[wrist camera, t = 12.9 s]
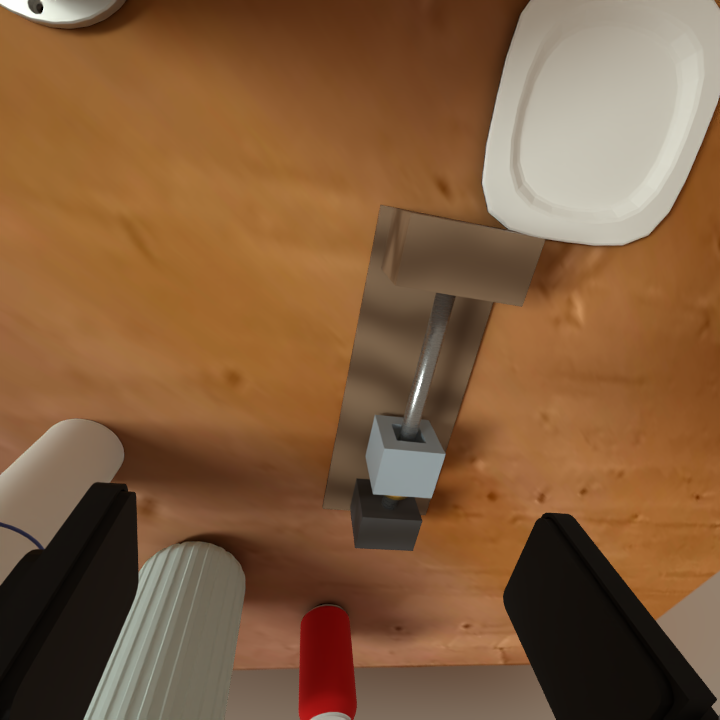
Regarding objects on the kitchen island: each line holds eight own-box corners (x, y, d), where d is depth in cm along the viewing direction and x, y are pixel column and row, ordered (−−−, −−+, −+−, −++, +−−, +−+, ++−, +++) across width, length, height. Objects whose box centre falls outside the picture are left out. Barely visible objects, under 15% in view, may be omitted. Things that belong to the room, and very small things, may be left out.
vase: (198, 511, 44) (102, 795, 23) (269, 567, 48) (239, 846, 28) (122, 564, 45) (-30, 870, 25) (197, 613, 50) (119, 907, 30)
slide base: (380, 204, 33) (396, 210, 27) (513, 231, 35) (558, 241, 29) (322, 506, 45) (324, 559, 39) (424, 512, 47) (442, 563, 41)
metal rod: (425, 273, 34) (436, 282, 31) (461, 279, 34) (475, 288, 31) (366, 514, 43) (370, 538, 40) (395, 515, 44) (400, 539, 41)
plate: (644, 251, 38) (658, 254, 36) (461, 226, 35) (468, 228, 34) (738, 11, 31) (761, 2, 29) (520, -43, 28) (532, -56, 27)
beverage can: (355, 619, 54) (367, 731, 43) (313, 636, 54) (313, 751, 43) (337, 592, 51) (344, 703, 40) (292, 609, 51) (287, 724, 41)
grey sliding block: (374, 414, 40) (384, 448, 35) (428, 420, 41) (445, 454, 36) (365, 456, 42) (372, 494, 37) (417, 460, 43) (431, 498, 38)
